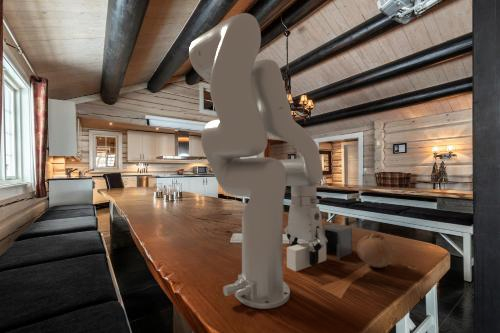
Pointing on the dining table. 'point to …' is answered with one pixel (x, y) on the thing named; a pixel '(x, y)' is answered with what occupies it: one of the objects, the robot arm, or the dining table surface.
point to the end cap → (338, 239)
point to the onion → (375, 250)
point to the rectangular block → (302, 256)
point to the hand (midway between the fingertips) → (304, 259)
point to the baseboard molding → (238, 239)
